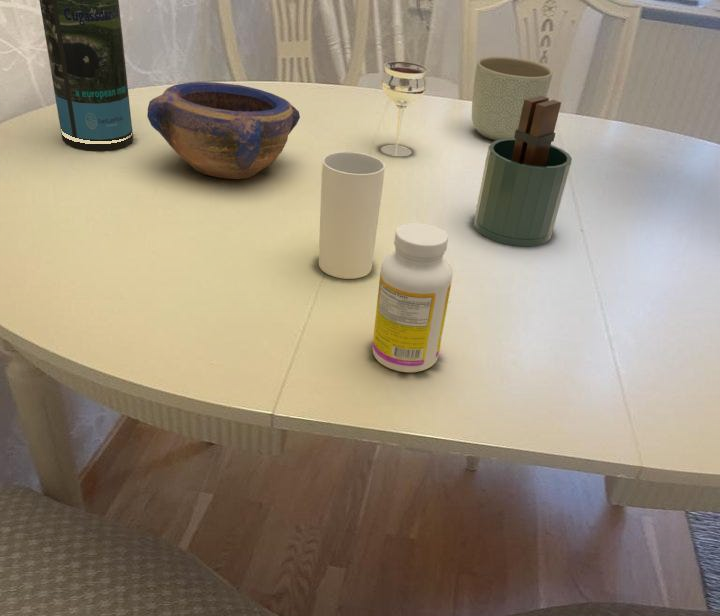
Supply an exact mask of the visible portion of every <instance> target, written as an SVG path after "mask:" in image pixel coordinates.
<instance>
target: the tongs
mask: <svg viewBox="0 0 720 616" xmlns="http://www.w3.org/2000/svg"><path fill="white" fill-rule="evenodd" d="M561 105H562V102H561V101H558V100H556V99H551V100H550V98H549V97H547V96H546V97H544V96H538V97H534V98H529V99H525V100H524V103H523V108H522V112H521V117H520V122H519V126H518V129H517V130H516V131H515V136H514V138H515V139H516V140H515V145H514V149H513V154H512V158H511V161H514V162H517V163H521V164H526V165H531V166H542V167H545V166H546V162H547V158H548V154H549V150H550V146H551V145H552V142H554V141H555V138H556V132H555V131H556V126H557V122H558V118H559V114H560V113H559V112H560V109H561Z"/></svg>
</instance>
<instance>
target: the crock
mask: <svg viewBox="0 0 720 616" xmlns="http://www.w3.org/2000/svg"><path fill="white" fill-rule="evenodd" d="M515 140H516V139H515V138H511V139H501V140H496V141H495V140H493V141H492V142H491V143H489V145H488V148H487V153H486V158H485V163H484V168H483V173H482V178H481V182H480V188H479V193H478V199H477V204H476V209H475V213H474V221H473V226H474V229H475V230H476V231H477V232H478V233H479V234H480V235H482V236H483V237H485V238H487V239H489V240H491V241H494V242H496V243H500V244H503V245H508V246H515V247H537V246H541V245H543V244H546V243H547V242H549V241H550V240H551V238H552V234H553V231H554V227H555V223H556V220H557V217H558V213H559V209H560V206H561V201H562V198H563V195H564V191H565V188H566V184H567V180H568V176H569V172H570V168H571V164H572V161H573V158H572V156H571V155H570V154H569V153H568V152H566V150H564V149H562V148H560V147H558V146H556V145H553V144H551V146H550V150H549V154H548V158H547V162H546V166H545V167H542V166H531V165H526V164H521V163H517V162H514V161H511V158H512V154H513V149H514V145H515Z"/></svg>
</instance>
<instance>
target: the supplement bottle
mask: <svg viewBox="0 0 720 616" xmlns="http://www.w3.org/2000/svg"><path fill="white" fill-rule="evenodd" d="M448 240H449V236H448V233H447V232H446V231H445V230H443V229H442V228H440V227H438V226H435V225H433V224H428V223H423V222H410V223H409V222H408V223H404V224H402V225H400V226H398V227H397V228H396V230H395V235H394V241H393V245H394V248H395V250H394V251H392V252H390V253H389V254H388V255H387V256H385V258H384V259H383V260H382V262H381V264H380V265H381V266H380V271H379V281H378V292H377V300H376V308H375V309H376V310H375V318H374V326H373V327H374V329H373V337H372V353H373V356H374V358H375V359H376V361H377V362H378V363H380V364H381V365H382V366H384V367H386V368H388V369H391V370H393V371H396V372H402V373H418V372H422V371H425V370H427V369H429V368H431V367H433V366H434V365H435V364H436V362H437V360H438V358H439V353H440V350H441V344H442V338H443V333H444V327H445V322H446V315H447V310H448V304H449V298H450V293H451V286H452V281H453V269H452V266H451V264H450V262H449V261H448V260H447V258H445V257H444V255H445V253H446V251H447V247H448V242H449V241H448Z"/></svg>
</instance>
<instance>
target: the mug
mask: <svg viewBox="0 0 720 616" xmlns="http://www.w3.org/2000/svg"><path fill="white" fill-rule="evenodd" d="M321 161H322V167H321V182H320V207H319V208H320V210H319V213H320V214H319V238H318V266H319V268H320V270H321V271H322V272H324V273H325V274H326V275H329V276H330V277H334V278H338V279H345V280H354V279H360V278H361V279H362V278H363V277H364V278H365V277H366V276H368V275H369V274H370V273H371V272H372V269H373V262H374V255H375V254H374V253H375V248H376V241H377V233H378V224H379V217H380V209H381V204H382V203H381V202H382V194H383V187H384V179H385V171H386V170H385V169H386V164H385V162H384V161H383V160H381V159H380V158H379V157H376V156H374V155H371V154H368V153H363V152H357V151H337V152H336V151H335V152H332V153H329V154H326V155H325V156H323V158H322V160H321Z"/></svg>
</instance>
